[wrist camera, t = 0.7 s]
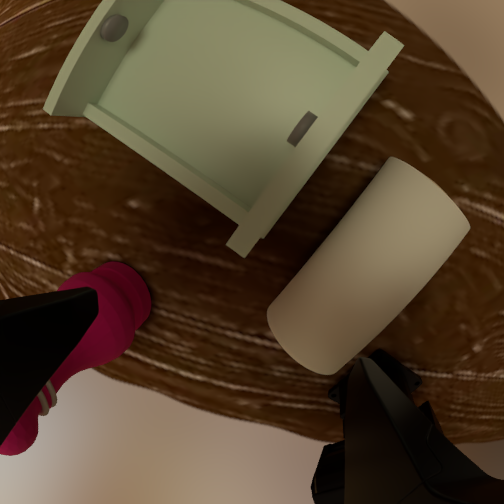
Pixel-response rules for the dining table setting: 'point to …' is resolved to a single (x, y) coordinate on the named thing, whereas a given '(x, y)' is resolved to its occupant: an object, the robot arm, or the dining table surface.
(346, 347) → the kitchen roll
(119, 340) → the pepper mill
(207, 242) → the dining table surface
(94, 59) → the roll cradle
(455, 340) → the dining table surface
